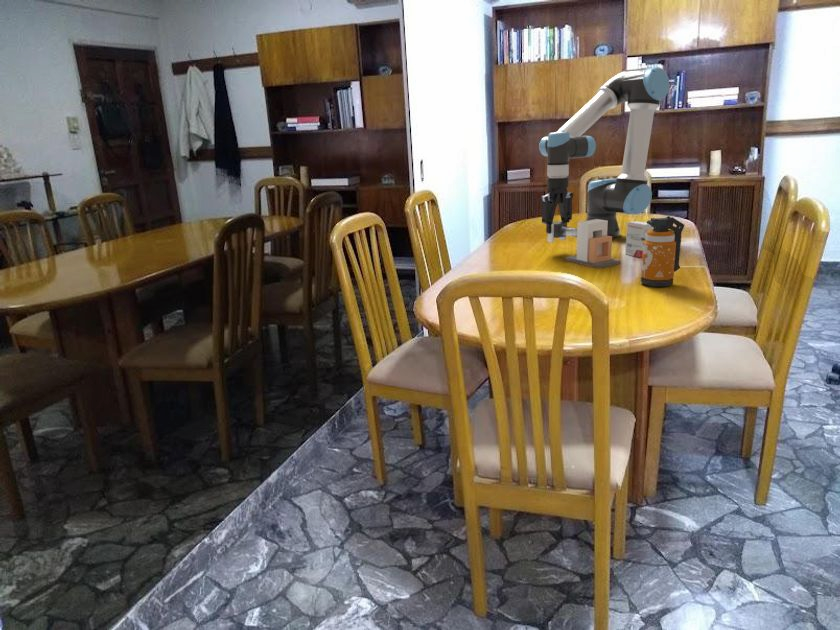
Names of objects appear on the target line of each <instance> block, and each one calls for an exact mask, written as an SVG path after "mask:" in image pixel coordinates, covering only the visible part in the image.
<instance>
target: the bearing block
mask: <svg viewBox="0 0 840 630" xmlns="http://www.w3.org/2000/svg"><path fill="white" fill-rule="evenodd" d="M607 226H608V221H607V220H600V219H594V220H588V221H586V220H584V221H577V228H576V229H577V237H576V255H570V256H566V257H564V260H565V261H567V262H571V263H577V264H580V265H585V266H588V267H593V268H597V269H601V268H605V267H610V266H615V265H619V264H621V260H618V259H614V258H611V260H606V261H601V262H596V263H592V262H589V239H590V238H593V232H595V233H596V237H601V236H607ZM599 255H603V243H598V253H597V256H599Z"/></svg>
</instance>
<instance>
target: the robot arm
mask: <svg viewBox="0 0 840 630" xmlns="http://www.w3.org/2000/svg"><path fill="white" fill-rule="evenodd" d="M669 91H670V79H669V75H667V72H666V71H665V70H664V69H663V68H662V67H657V66H654V67H653V66H648V67H643V68H634V69H633V68H632V69H626V70H623V71H621V72H618V73H617V74H616V75H614V76H613V77H611V78H610V79H608V80H607V81H606V82H605V83H604V84H602V85H601V86H600V87H599V88H598V89H597V91H596V95H594V96H593V97H592V98H591V99H590V100H589V101H587V103H586V104H584V105H583V106H582V107H581V109H579V110H578V111H577V112H576V113H575V114H574V115H573V116H572V117H570V119H569V120H568V121H566V122H565V123H564V124H563V125H562V126H561V127H559V129H558V130H557V131H555V132H549V133H548V136H544V137H542V138H541V140H540V142H539V144H538V150H539V152H540V154H541V155H542V156H544V157H547V162H546V163H547V165H546V167H547V168H546V169H547V170H546V172H547V173H546V175H547V179H546V187H547V193H546V194H545V195H541V197H540V198H541V199H540V200H541V223H542V224H545V225H546V227H545V230H546V231H545V232H546V237H547V240H546V242H548V243H554V242H555V238H554V225H553V224H552V223H553V222H554V217H555V212H556V209H557V208H556V207H557V206H558V210H559V215H560V222H566V223H567V224H568V223H570V221H572V219H573V197H574V192H569V191H568V188H569V176H570V175H569V174H570V172H569V171H570V170H569V169H570V160H571V159H580V158H583V159H584V158H587V157H591V156H593V155H594V154H595V152H596V149H597V145H596V144H597V143H596V140H595V139H594V137H592V136H591V135H583V134H585V133H586V131H588V130H589V129H590V128H591V127H592V126H593V125H594V124H595V123H596V122H598V121H599V119H600V118H601V117H602V116H604V115H605V114H606V113H607V112H608V111H609V110H613V109H615V108H616V107H618V105H620V104H622V103H627V104H626V105H627V107H628V108H629V109H630V110H629V111H630V112H629V119H628V125H627V130H626V131H627V132H626V139H625V146H624V153H623V160H622V167H621V172H620V174H619V175H618V176H617V177H616V178H608V179H599V180H592V181H589V183H588V185H587V187H588V188H587V199H586V200H587V205H586V206H587V207H586V209H587V211H586V213H587V214H586V218H585V221H588V220H594V219H600V220H607V221H608V226H607V236H612V239H613V238H618V237H620V235H621V234H620V233H621V232H620V231H621V229H620V226H619V223H618V220H617V219H618V218H617V213H618V214H619V213H620V214H625V215H640V214H642V213H643V212H644V211H646V209H648V208H649V205H650V204H651V201H652V198H653V197H652V196H653V191H652V188H651V186H649V185H648V182H649V181H648V179H647V177H646V176H645V173H646V165H647V159H648V154H649V152H648V151H649V148H650V147H649V146H650V140H651V136H652V135H651V134H652V129H653V128H652V127H653V122H654V121H653V120H654V114H655V111H656V110H657V109H658V108H659V107H660V104H661V101H662V100H664V99H666V96H667V95H669ZM558 240H560V241H567V236H565V237H559V238H558Z"/></svg>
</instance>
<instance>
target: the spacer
mask: <svg viewBox="0 0 840 630" xmlns="http://www.w3.org/2000/svg"><path fill="white" fill-rule="evenodd" d="M598 243H603V255H599V256H597V253H598ZM612 244H613V238H612V236H601V237H595V238H590V239H589V262H592V263H596V262H601V261H606V260H611V259H612V249H613V247H612V246H613V245H612Z"/></svg>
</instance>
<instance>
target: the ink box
mask: <svg viewBox="0 0 840 630" xmlns="http://www.w3.org/2000/svg"><path fill="white" fill-rule="evenodd" d="M652 229H654V227H651V225H650V224H647V222H645V221H636V220H635V221H628V222H626V238H625V251H624V252H625V253H624V254H625V255H626V254H627V256H631V257H636V258H639V259H642V254H643V242H644V241H645V239H646V233H647V231H648V230H652Z"/></svg>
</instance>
